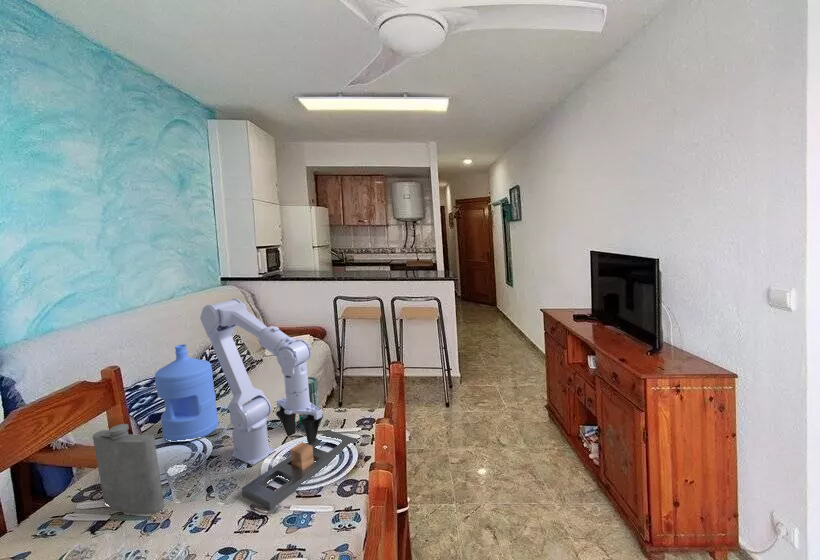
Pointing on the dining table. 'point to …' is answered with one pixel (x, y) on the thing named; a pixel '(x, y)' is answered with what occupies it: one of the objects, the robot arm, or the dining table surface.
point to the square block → (302, 456)
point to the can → (311, 398)
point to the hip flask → (128, 470)
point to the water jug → (187, 397)
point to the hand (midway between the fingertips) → (301, 438)
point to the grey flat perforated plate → (292, 474)
